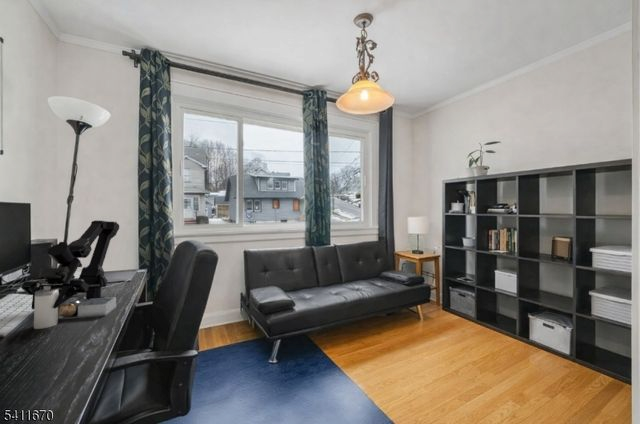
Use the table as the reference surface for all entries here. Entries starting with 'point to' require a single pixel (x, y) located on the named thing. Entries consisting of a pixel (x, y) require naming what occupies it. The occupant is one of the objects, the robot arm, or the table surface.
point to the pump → (45, 308)
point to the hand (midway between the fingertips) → (43, 308)
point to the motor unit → (87, 307)
